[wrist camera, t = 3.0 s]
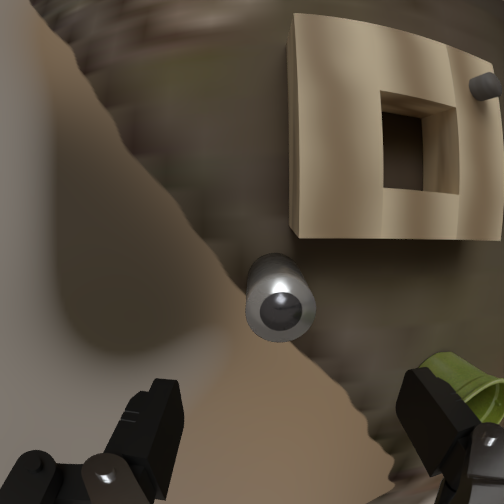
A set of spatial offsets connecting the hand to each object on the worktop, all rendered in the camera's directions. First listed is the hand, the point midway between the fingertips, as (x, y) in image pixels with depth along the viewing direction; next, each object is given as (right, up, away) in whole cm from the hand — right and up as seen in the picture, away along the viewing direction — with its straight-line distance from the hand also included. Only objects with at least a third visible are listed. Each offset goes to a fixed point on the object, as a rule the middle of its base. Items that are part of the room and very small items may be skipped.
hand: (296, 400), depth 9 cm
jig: (+9, +14, +11) cm, 20 cm away
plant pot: (+17, -8, +16) cm, 25 cm away
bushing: (0, +3, +13) cm, 14 cm away
